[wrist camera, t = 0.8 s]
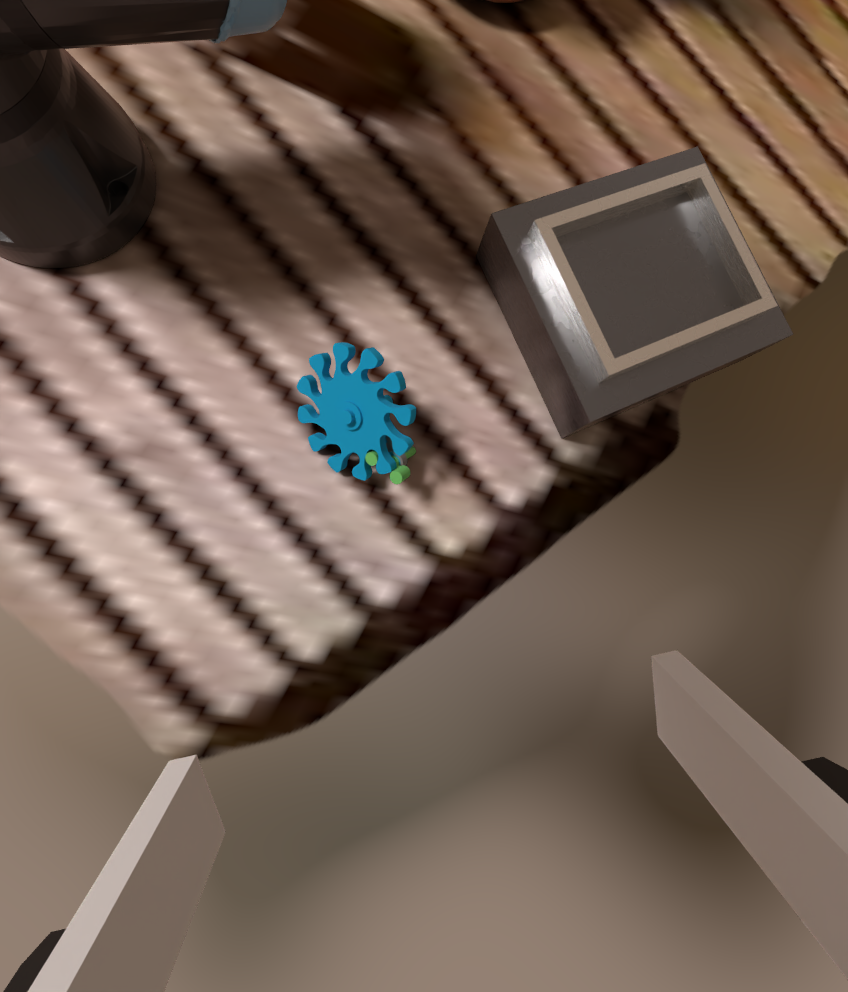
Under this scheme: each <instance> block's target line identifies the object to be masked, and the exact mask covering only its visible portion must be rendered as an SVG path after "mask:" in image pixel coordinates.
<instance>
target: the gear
mask: <svg viewBox="0 0 848 992" xmlns="http://www.w3.org/2000/svg"><path fill="white" fill-rule="evenodd" d="M333 353H334V356H335V360H336V370H335V374H334V378H332V377H331V376H330V374H329V368H330V365H331V358H330V356H329V354H328V353H322V354H317V355H314V356H312V357H311V358H309V362H310V365H311V367H312V368H313V369H314V370H315V372H316V373H317V375H318V377H319V379H320V383H321V388H322V394H321V393H320V392H319V390H318V386H317V381H316V379H315V378H314V377H313V376H312V375H307V376H303V377H302V378H301V379H300V380H299V382H298V385H297V389H298V390H299V391H300V392H301V393H302V394H305V395H307V396H308V397H310V398H311V399H312V400H313V401H314V403H315V404H316V406H317V407H318V409H319V412H320V415H319V414H318V413H317V412H316V410H315V409H314V407H313V406H311V405H309V404H307V405H303V406H300V407H299V409H298V420H299V421H300V422H301V423H308V422H311V423H315V424H318V425H319V426H321V427H322V428H324V429H325V431H326V433H327V436H325V435H324V434H322V433H316V434H313V435H311V436H309V437H308V439H309V443H310V446H311V448H312V450H313V451H319V450H321V449H323V448H325V447H326V446H327V445H328V444H336V445H338V446H339V447H340V449H341V454H336V455H334V456H332V457H330V458H329V459H328V464H329V465H330V467H331V468H332V469H333V470H334V471H336V472H339V471H341V470H343V469H345V468H346V467H347V462H348V458H349V456H350V455H351V454H352V453H353V452H354V453H356V454H358V456H359V458H360V462H359V464H358V465H356V466H355V467H354V468H353V470H352V474H353V476H354V477H356V478H358V479H361V480H366V479H368V478H370V477H371V476H372V468H371V466H374V465H376V470H377V472H378V473H379V474H386V473H389V472H391V473H390V479H391V481H392V482H393V483H394V484H400V483H401V482H403V481H404V480H405V479H407V478H408V477H409V476H410V469H409V468H408V467H407V466H406V465H407V459H408V458H409V457H411V456H412V455H414V454H415V453H416V449H415V448H414V447H413V444H414V443H413V441H412V439H411V438H410V437H408V436H405V435H403V434H402V433H400V432H399V431H398V430H397V429H396V428H395V426H394V425H393V423H392V422H391V420H390V413H392V414H394V415H395V417H396V418H397V420H398V422H399V423H400V424H402V425H404V426H408V425H410V424H412V423H413V422H414V420H415V417H416V407H415V406H413V405H411V404H408V405H402V406H401V405H396V404H393V400H392V398H391V397H390V396H389V395H385V396H384V395H383V390H384V388H385V389H387V390H388V391H390V392H392V393H396V392H399V391H402V390H404V389H405V388H406V383H405V379H404V377H403V374H402V372H400V371H396V372H393V373H390V374H388V375H387V376H386V378H385V379H384V380H382V381H381V382H372V381H370V380H369V378H368V376H367V372H368V369H371V368H375V367H379V366H381V365H382V363H383V361H384V358H383V357H382V355H381V354H380V353H379V352H378V351H377V350H376V349H375V348H373V347H372V348H367V349H365V350H364V351H363V352H362V355H361V361H360V364H359V366H358V368H357V370H356V371H355V372H354V373H352V374H351V373H350V372H349V371H348V368H347V364H348V362H349V361H350V360H351V359H352V358H353V357H354V355H355V346H353V345H351V344H349V343H342V342H341V343H335V344H334V346H333ZM372 450H373V451H372Z"/></svg>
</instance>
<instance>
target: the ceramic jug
mask: <svg viewBox="0 0 848 992" xmlns="http://www.w3.org/2000/svg"><path fill="white" fill-rule="evenodd" d="M487 1H491V2H498V3H512V2H519V1H523V0H487Z"/></svg>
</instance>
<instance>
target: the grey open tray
mask: <svg viewBox="0 0 848 992" xmlns="http://www.w3.org/2000/svg"><path fill="white" fill-rule="evenodd" d="M476 257H477V259H478V261H479V263H480V265H481V267H482V270H483V272H484V274H485V276H486V278H487V280H488V282H489V285H490V287H491V289H492V291H493V293H494V295H495V297H496V299H497V302H498V304H499V306H500V308H501V310H502V312H503V314H504V317H505V319H506V321H507V323H508V325H509V327H510V329H511V331H512V334H513V336H514V338H515V340H516V342H517V344H518V346H519V349H520V351H521V353H522V355H523V357H524V359H525V361H526V363H527V366H528V368H529V370H530V372H531V374H532V376H533V378H534V381H535V383H536V385H537V387H538V389H539V391H540V393H541V395H542V398H543V400H544V402H545V404H546V406H547V408H548V410H549V413H550V415H551V417H552V419H553V421H554V423H555V425H556V427H557V430H558V432H559V434H560V436H561V438H564V437H566V436H569V435H571V434H573V433H576V432H578V431H580V430H582V429H585V428H587V427H589V426H592V425H594V424H596V423H599V422H601V421H603V420H605V419H608V418H610V417H612V416H615V415H617V414H619V413H622V412H624V411H626V410H629V409H631V408H633V407H635V406H638V405H640V404H642V403H645V402H647V401H649V400H652V399H654V398H656V397H658V396H661V395H663V394H665V393H668V392H670V391H672V390H675V389H677V388H679V387H682V386H684V385H686V384H688V383H691V382H693V381H695V380H698V379H700V378H702V377H705V376H707V375H709V374H711V373H714V372H716V371H718V370H720V369H723V368H725V367H728V366H730V365H732V364H734V363H737V362H739V361H741V360H744V359H746V358H747V357H750V356H752V355H753V354H755V353H757V352H759V351H761V350H763V349H765V348H767V347H769V346H771V345H773V344H775V343H777V342H779V341H781V340H783V339H785V338H787V337H789V336H791V335H793V333H792V331H791V329H790V327H789V325H788V323H787V321H786V319H785V317H784V315H783V313H782V311H781V309H780V307H779V305H778V303H777V301H776V299H775V297H774V296H773V294H772V292H771V290H770V288H769V286H768V284H767V282H766V280H765V278H764V276H763V274H762V272H761V270H760V268H759V266H758V264H757V262H756V260H755V258H754V256H753V254H752V252H751V250H750V248H749V247H748V245H747V243H746V241H745V239H744V237H743V235H742V233H741V231H740V229H739V227H738V225H737V223H736V221H735V219H734V217H733V215H732V213H731V211H730V209H729V207H728V205H727V203H726V201H725V199H724V198H723V196H722V194H721V192H720V190H719V188H718V186H717V184H716V182H715V180H714V178H713V176H712V174H711V172H710V170H709V168H708V166H707V164H706V162H705V160H704V158H703V156H702V154H701V152H700V151H699V149H698V147H695V148H692V149H689V150H686V151H683V152H680V153H676V154H673V155H670V156H667V157H664V158H661V159H658V160H655V161H652V162H649V163H646V164H643V165H640V166H636V167H633V168H630V169H627V170H624V171H621V172H618V173H615V174H612V175H609V176H606V177H603V178H600V179H596V180H593V181H590V182H587V183H584V184H581V185H578V186H575V187H572V188H569V189H566V190H563V191H559V192H556V193H553V194H550V195H547V196H544V197H541V198H538V199H535V200H532V201H529V202H526V203H523V204H519V205H516V206H513V207H510V208H507V209H504V210H501V211H498V212H495V213H492V214H491V217H490V219H489V222H488V225H487V227H486V230H485V233H484V235H483V238H482V241H481V243H480V246H479V249H478V251H477V254H476Z"/></svg>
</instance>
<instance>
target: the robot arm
mask: <svg viewBox="0 0 848 992" xmlns="http://www.w3.org/2000/svg"><path fill="white" fill-rule="evenodd" d="M286 2H287V0H0V256H1V257H3V258H6V259H8V260H11V261H14V262H17V263H20V264H24V265H28V266H34V267H41V268H66V267H74V266H79V265H84V264H87V263H91V262H94V261H97V260H99V259H101V258H104V257H106V256H108V255H110V254H112V253H113V252H115V251H117V250H118V249H120V248H121V247H122V246H124V245H125V244H126V243H127V242H129V241H130V240H131V239H132V238H133V237H134V236H135V235H136V234H137V232H138V231H139V230H140V229H141V227H142V226H143V224H144V223H145V221H146V220H147V218H148V216H149V214H150V211H151V209H152V206H153V203H154V199H155V193H156V175H155V169H154V165H153V161H152V158H151V156H150V153H149V151H148V149H147V147H146V145H145V144H144V142H143V140H142V138H141V136H140V135H139V133H138V131H137V129H136V127H135V126H134V124H133V122H132V121H131V119H130V118H129V116H128V115H127V114H126V112H125V111H124V110H123V108H122V107H121V106H120V105H119V104H118V103H117V102H116V101H115V100H114V99H113V98H112V97H111V96H110V95H109V94H108V93H107V92H106V90H105V89H104V88H103V87H102V86H101V85H100V84H99V83H98V82H97V81H96V80H95V79H94V78H93V77H92V76H91V75H90V74H89V73H88V72H87V71H86V70H85V69H84V68H83V67H82V66H81V65H80V64H79V63H78V62H77V61H76V60H75V59H74V58H73V57H72V56H71V55H70V54H69V53H68V52H67V51H66V50H65V49H69V48H85V47H101V46H116V45H132V44H148V43H163V42H179V41H195V40H209V41H211V42H213V43H220V41H225V40H226V39H227V38H228V37H229V36H237V35H244V34H251V33H259V32H265V31H267V30H269V29H270V28H272V27H273V26H274V25H275V23H276V22H277V21H278V20H279V19H280V18H281V16H282V14H283V12H284V9H285V6H286ZM651 662H652V674H653V685H654V697H655V708H656V719H657V732H658V736H659V738H660V739H661V740H662V742H663V743H664V744H665V745H666V747H667V748H668V749H669V751H670V752H671V753H672V754H673V756H674V757H675V758H676V760H677V761H678V762H679V763H680V765H681V766H682V767H683V769H684V770H685V771H686V773H687V774H688V775H689V776H690V778H691V779H692V780H693V782H694V783H695V784H696V785H697V787H698V788H699V789H700V791H701V792H702V793H703V794H704V796H705V797H706V798H707V800H708V801H709V802H710V804H711V805H712V806H713V807H714V809H715V810H716V811H717V812H718V814H719V815H720V816H721V818H722V819H723V820H724V821H725V823H726V824H727V825H728V827H729V828H730V829H731V830H732V832H733V833H734V834H735V836H736V837H737V838H738V840H739V841H740V842H741V843H742V845H743V846H744V847H745V849H746V850H747V851H748V852H749V854H750V855H751V856H752V858H753V859H754V860H755V861H756V863H757V864H758V865H759V867H760V868H761V869H762V871H763V872H764V873H765V874H766V876H767V877H768V878H769V879H770V881H771V882H772V883H773V885H774V886H775V887H776V889H777V890H778V891H779V892H780V894H781V895H782V896H783V898H784V899H785V900H786V901H787V903H788V904H789V905H790V906H791V908H792V909H793V910H794V912H795V913H796V914H797V916H798V917H799V918H800V920H801V921H802V922H803V923H804V925H805V926H806V927H807V929H808V930H809V931H810V932H811V934H812V935H813V936H814V938H815V939H816V940H817V941H818V943H819V944H820V945H821V947H822V948H823V949H824V950H825V952H826V953H827V954H828V956H829V957H830V958H831V959H832V961H833V962H834V963H835V965H836V966H837V967H838V968H839V970H840V971H841V972H842V974H843V975H844V976H845V978H846V979H847V980H848V770H847V769H845V768H843V767H841V766H839V765H837V764H835V763H834V762H832V761H830V760H828V759H826V758H824V757H820V758H816V759H811V760H807V761H802V762H801V761H800V760H798V759H797V758H796V757H795V756H794V755H793V754H792V753H791V752H790V751H788V750H787V749H786V748H785V747H784V746H783V745H782V744H780V743H779V742H778V741H777V740H776V739H775V738H774V737H773V736H772V735H771V734H770V733H768V732H767V731H766V730H765V729H764V728H763V727H762V726H761V725H760V724H758V723H757V722H756V721H755V720H754V719H753V718H751V716H750V715H748V714H747V713H746V712H745V711H744V710H743V709H742V708H741V707H739V706H738V705H737V704H736V703H735V702H734V701H733V700H732V699H731V698H730V697H728V696H727V695H726V694H725V693H724V692H723V691H722V690H721V689H720V688H718V687H717V686H716V685H715V684H714V683H713V682H712V681H711V680H710V679H708V678H707V677H706V676H705V675H704V674H702V672H701V671H700V670H698V669H697V668H696V667H695V666H694V665H693V664H692V663H691V662H690V661H688V660H687V659H686V658H685V657H684V656H683V655H682V654H681V653H680V652H678V651H677V650H675V651H670V652H666V653H661V654H657V655H652V656H651ZM225 832H226V831H225V829H224V826H223V823H222V821H221V818H220V816H219V813H218V810H217V808H216V805H215V802H214V800H213V797H212V795H211V792H210V789H209V787H208V784H207V782H206V779H205V776H204V773H203V771H202V768H201V766H200V763H199V760H198V758H197V755H193V756H189V757H184V758H179V759H175V760H170V761H169V762H168V764H167V765H166V767H165V768H164V770H163V772H162V774H161V775H160V777H159V779H158V780H157V781H156V783H155V785H154V786H153V788H152V790H151V791H150V793H149V795H148V796H147V798H146V799H145V801H144V803H143V804H142V806H141V808H140V809H139V811H138V813H137V814H136V816H135V817H134V819H133V821H132V822H131V824H130V826H129V827H128V829H127V830H126V832H125V834H124V835H123V837H122V839H121V840H120V842H119V843H118V845H117V847H116V848H115V850H114V852H113V853H112V855H111V857H110V858H109V860H108V861H107V863H106V865H105V866H104V868H103V870H102V871H101V873H100V874H99V876H98V878H97V880H96V881H95V883H94V884H93V886H92V888H91V889H90V891H89V892H88V894H87V896H86V897H85V899H84V901H83V902H82V904H81V905H80V907H79V909H78V910H77V912H76V914H75V916H74V917H73V918H72V920H71V922H70V923H69V925H68V927H67V928H66V929H62V930H58V931H54V932H51V933H50V934H49V935H48V936H47V937H46V938H45V939H44V940H43V941H42V943H41V944H40V945H39V946H38V947H37V948H36V949H35V950H34V951H33V952H32V954H31V955H30V956H29V957H28V958H27V959H26V960H25V961H24V963H22V965H21V966H20V967H19V969H18V971H17V972H16V973H15V975H14V977H13V978H12V980H11V981H10V983H9V984H8V986H7V987H6V989H5V990H4V992H164V991H165V988H166V985H167V983H168V980H169V978H170V975H171V972H172V970H173V967H174V965H175V962H176V959H177V957H178V954H179V952H180V949H181V946H182V944H183V941H184V939H185V936H186V933H187V931H188V928H189V925H190V923H191V920H192V918H193V915H194V913H195V910H196V907H197V905H198V902H199V899H200V897H201V894H202V892H203V889H204V887H205V884H206V881H207V879H208V876H209V873H210V871H211V868H212V865H213V863H214V860H215V858H216V855H217V853H218V850H219V848H220V845H221V842H222V839H223V837H224V835H225Z"/></svg>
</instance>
